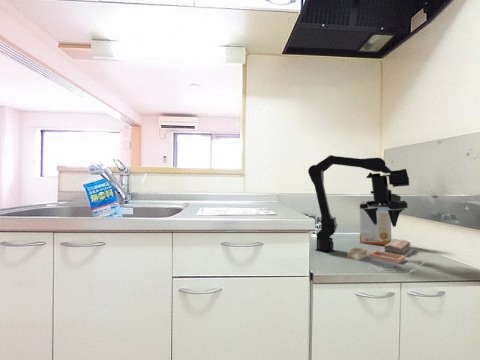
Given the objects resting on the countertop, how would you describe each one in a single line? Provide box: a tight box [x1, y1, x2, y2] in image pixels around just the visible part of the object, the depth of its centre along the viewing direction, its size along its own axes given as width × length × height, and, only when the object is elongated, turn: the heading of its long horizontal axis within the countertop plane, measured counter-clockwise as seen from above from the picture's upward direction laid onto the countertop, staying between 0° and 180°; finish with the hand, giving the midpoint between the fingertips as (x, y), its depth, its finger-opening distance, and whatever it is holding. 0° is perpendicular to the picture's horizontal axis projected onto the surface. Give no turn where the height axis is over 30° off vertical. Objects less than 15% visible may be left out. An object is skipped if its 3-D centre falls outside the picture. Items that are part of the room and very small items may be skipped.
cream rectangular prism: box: [346, 246, 368, 261], centre depth 110 cm, size 4×8×3 cm, turn 131°
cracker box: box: [359, 202, 392, 246], centre depth 135 cm, size 14×6×21 cm, turn 58°
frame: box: [369, 250, 406, 265], centre depth 107 cm, size 11×8×2 cm
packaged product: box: [379, 239, 415, 258], centre depth 118 cm, size 18×5×10 cm
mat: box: [344, 251, 398, 269], centre depth 108 cm, size 18×15×1 cm
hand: (384, 225), depth 109 cm, fingers open, 9 cm apart
